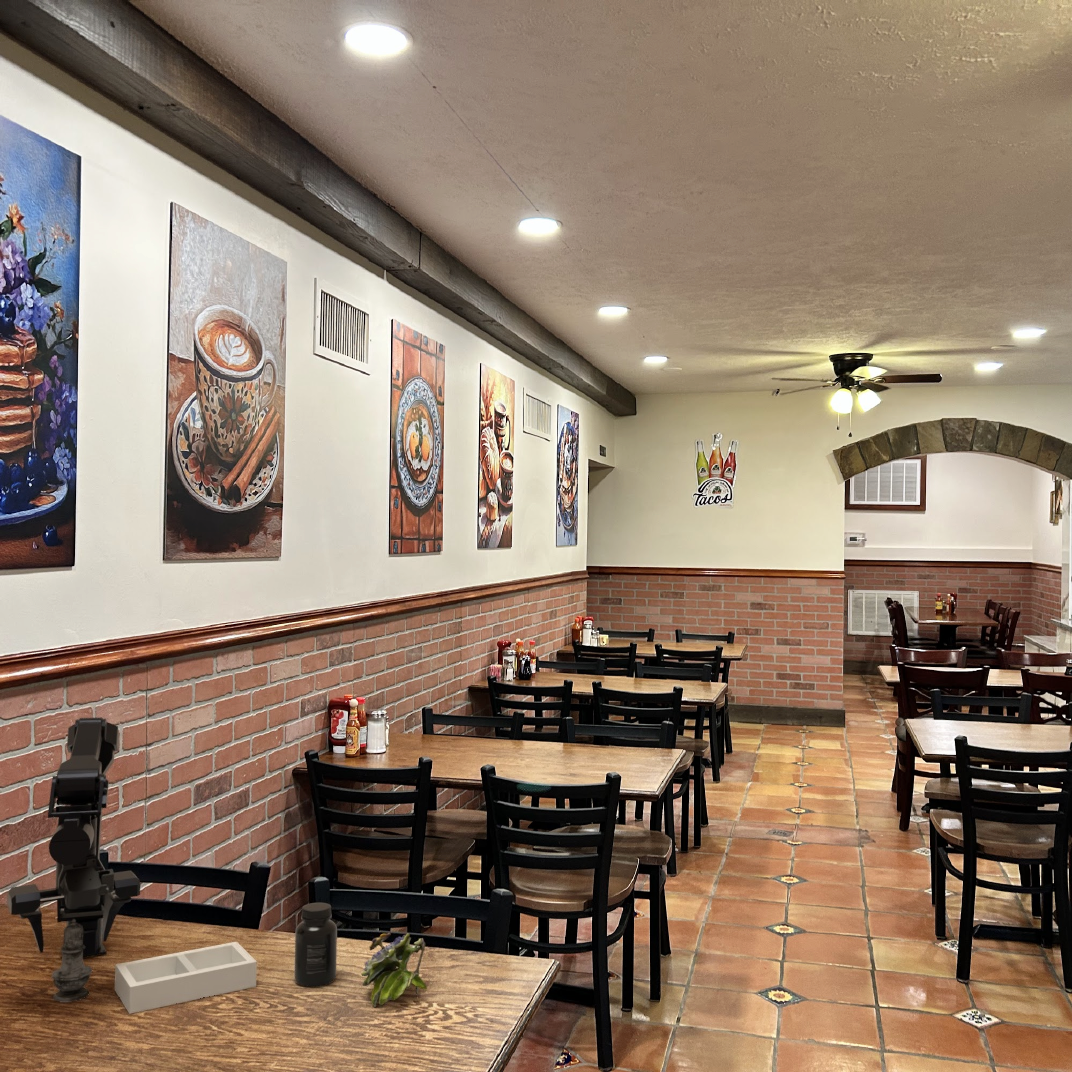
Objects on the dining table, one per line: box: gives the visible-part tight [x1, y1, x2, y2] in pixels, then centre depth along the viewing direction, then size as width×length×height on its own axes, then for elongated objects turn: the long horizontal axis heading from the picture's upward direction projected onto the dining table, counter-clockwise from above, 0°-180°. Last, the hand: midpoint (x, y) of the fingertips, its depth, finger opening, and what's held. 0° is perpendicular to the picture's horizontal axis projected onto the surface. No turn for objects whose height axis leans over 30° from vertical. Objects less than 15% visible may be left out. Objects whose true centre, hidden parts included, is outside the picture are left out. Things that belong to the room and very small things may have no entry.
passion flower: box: [361, 932, 427, 1008], centre depth 164 cm, size 11×11×12 cm
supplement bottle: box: [293, 902, 338, 988], centre depth 169 cm, size 7×7×12 cm
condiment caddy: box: [114, 941, 258, 1015], centre depth 165 cm, size 10×20×4 cm, turn 124°
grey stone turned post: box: [51, 919, 93, 1003], centre depth 161 cm, size 6×6×12 cm
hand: (73, 946), depth 161 cm, fingers open, 9 cm apart
